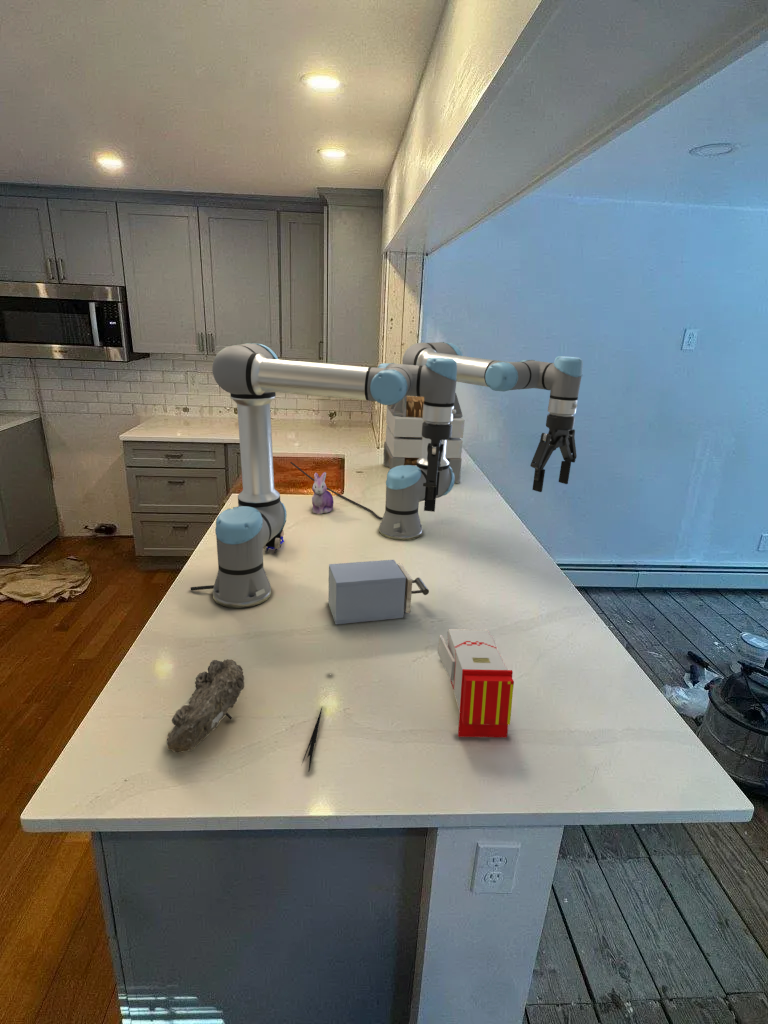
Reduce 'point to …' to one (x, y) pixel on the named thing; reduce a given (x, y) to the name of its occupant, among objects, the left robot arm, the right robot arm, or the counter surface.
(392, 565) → the cabinet
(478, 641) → the toy
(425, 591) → the drawer
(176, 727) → the fossil
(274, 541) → the figurine character
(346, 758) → the counter surface
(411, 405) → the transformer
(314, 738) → the feather
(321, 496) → the figurine
